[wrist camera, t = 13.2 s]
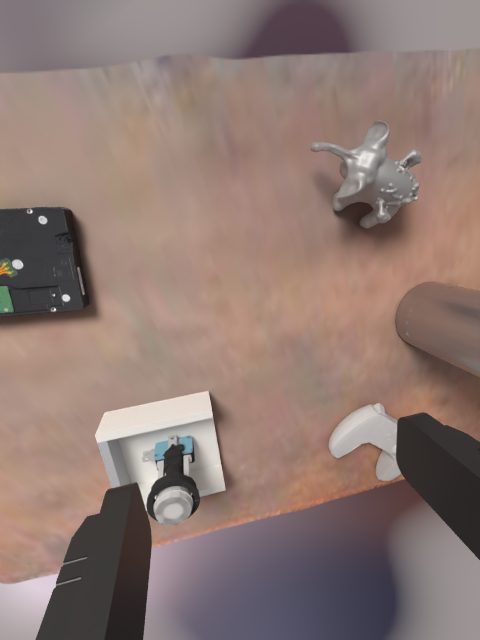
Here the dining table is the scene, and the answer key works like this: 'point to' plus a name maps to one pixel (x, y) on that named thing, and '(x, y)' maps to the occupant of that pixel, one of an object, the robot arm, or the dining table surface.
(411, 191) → the elephant statuette
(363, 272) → the dining table surface
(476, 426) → the dining table surface
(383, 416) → the game controller
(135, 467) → the box
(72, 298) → the disk drive
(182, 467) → the push button
